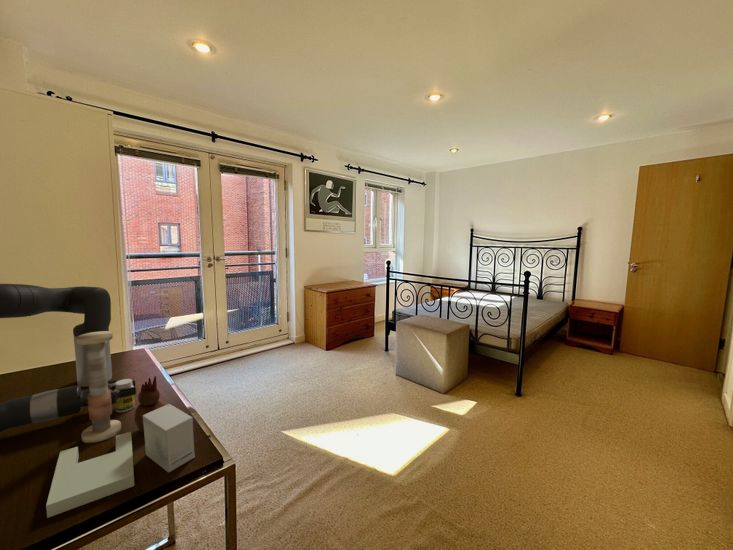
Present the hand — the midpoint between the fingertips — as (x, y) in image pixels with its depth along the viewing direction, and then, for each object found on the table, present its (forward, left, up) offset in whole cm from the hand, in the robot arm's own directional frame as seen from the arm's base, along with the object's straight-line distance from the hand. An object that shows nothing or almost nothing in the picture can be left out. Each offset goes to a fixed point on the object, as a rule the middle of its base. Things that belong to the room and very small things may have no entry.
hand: (135, 386), depth 96 cm
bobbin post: (+11, -8, -6) cm, 15 cm away
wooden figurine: (+16, +3, -6) cm, 17 cm away
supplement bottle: (0, -3, -6) cm, 7 cm away
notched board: (+28, -8, -6) cm, 30 cm away
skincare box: (+31, +5, -6) cm, 32 cm away
